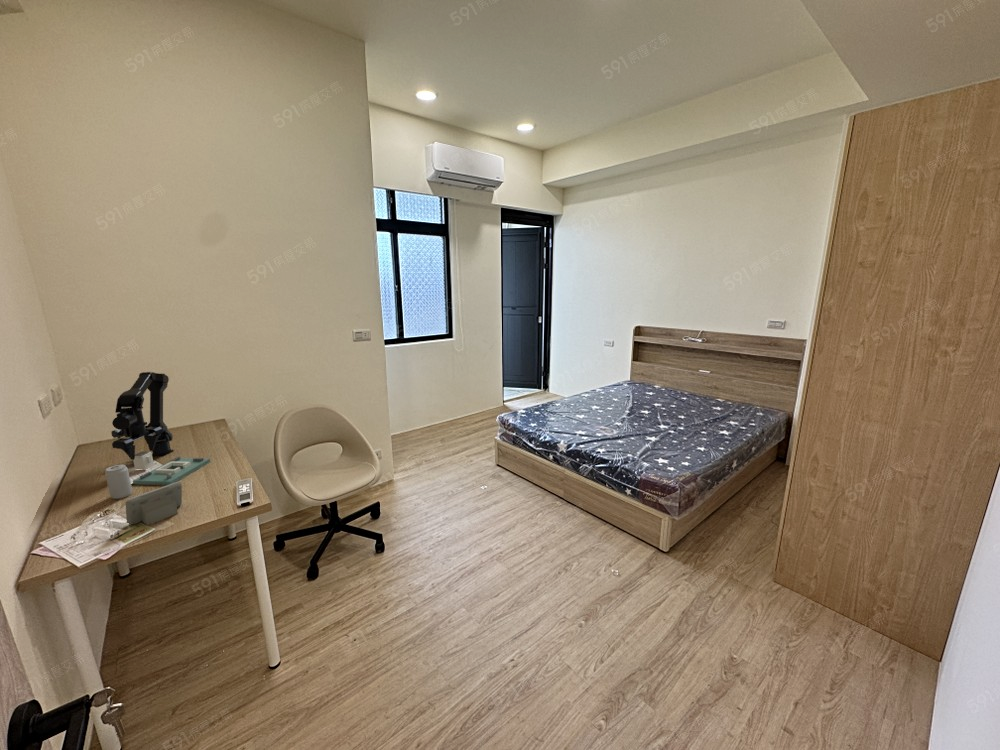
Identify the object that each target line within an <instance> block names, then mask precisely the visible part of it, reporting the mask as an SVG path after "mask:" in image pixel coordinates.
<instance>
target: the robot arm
mask: <svg viewBox="0 0 1000 750" xmlns="http://www.w3.org/2000/svg"><path fill="white" fill-rule="evenodd" d="M169 378H170V377H169V376H168V375H166V373H158V372H153V371H145V372H140V373H139V374H138V378H137V379H136V380H135V382H134V383H133V385H132V386H131V388H130V389H128V390H125V391H123V392H122V393H121V394H120V395H119V397H118V398H117V401H116V407H115V410H114V411H115V412H114V413H116V417H115V418H113V420H112V426H113V428H115V429H113V430H112V431H111V437H112V438H113V439H116V438H117V439H116V440H114V441H113V442H111V445H112V449H119V450H122V451H123V452H124V454H125V455H127V456H128V457H129V459H130V460H132V461H133V460H134V458H135V454H136V445H135V441H137V440H139V439H143V438H144V440H145V442H146V444H147V447H148V449H149V452H151V453H152V457H164V456H166V455H169V454H170V453H172V452H174V451H175V450H174V449H172V448H171V444H170V442H171V441H173V438H174V437H173V433H171V432H170V431H169V430H168V426H167V425H166V424H165V422H164V392H165V390H166V389H167V388H168V383H169V381H170V380H169ZM146 391H149V423H148V422H146V421H145V419H144V414H143V410H142V409H144V405H143V404H144V401H145V398H144V394H145V392H146ZM123 437H124V438H123Z"/></svg>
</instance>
